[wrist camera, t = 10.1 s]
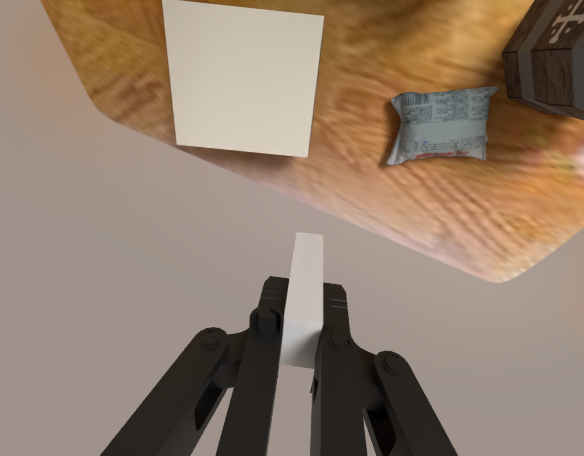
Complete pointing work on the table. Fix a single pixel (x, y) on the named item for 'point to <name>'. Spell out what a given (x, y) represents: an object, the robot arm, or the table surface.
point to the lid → (242, 76)
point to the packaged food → (441, 124)
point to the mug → (548, 58)
